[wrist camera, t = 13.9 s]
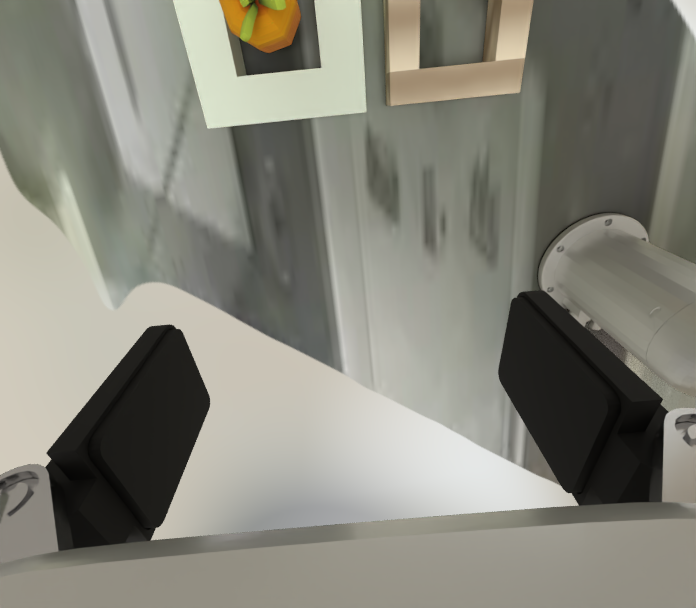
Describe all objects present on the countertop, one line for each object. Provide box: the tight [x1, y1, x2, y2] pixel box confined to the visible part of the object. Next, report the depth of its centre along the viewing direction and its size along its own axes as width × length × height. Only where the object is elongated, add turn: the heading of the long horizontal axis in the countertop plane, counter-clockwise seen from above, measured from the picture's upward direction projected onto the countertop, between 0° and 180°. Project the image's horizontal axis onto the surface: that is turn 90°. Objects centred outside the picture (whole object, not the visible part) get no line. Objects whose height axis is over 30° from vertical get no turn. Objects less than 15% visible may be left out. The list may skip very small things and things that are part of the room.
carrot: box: [219, 0, 301, 53], centre depth 23 cm, size 5×5×15 cm
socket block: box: [383, 0, 533, 106], centre depth 29 cm, size 12×12×3 cm
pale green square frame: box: [173, 0, 367, 129], centre depth 28 cm, size 14×14×4 cm
